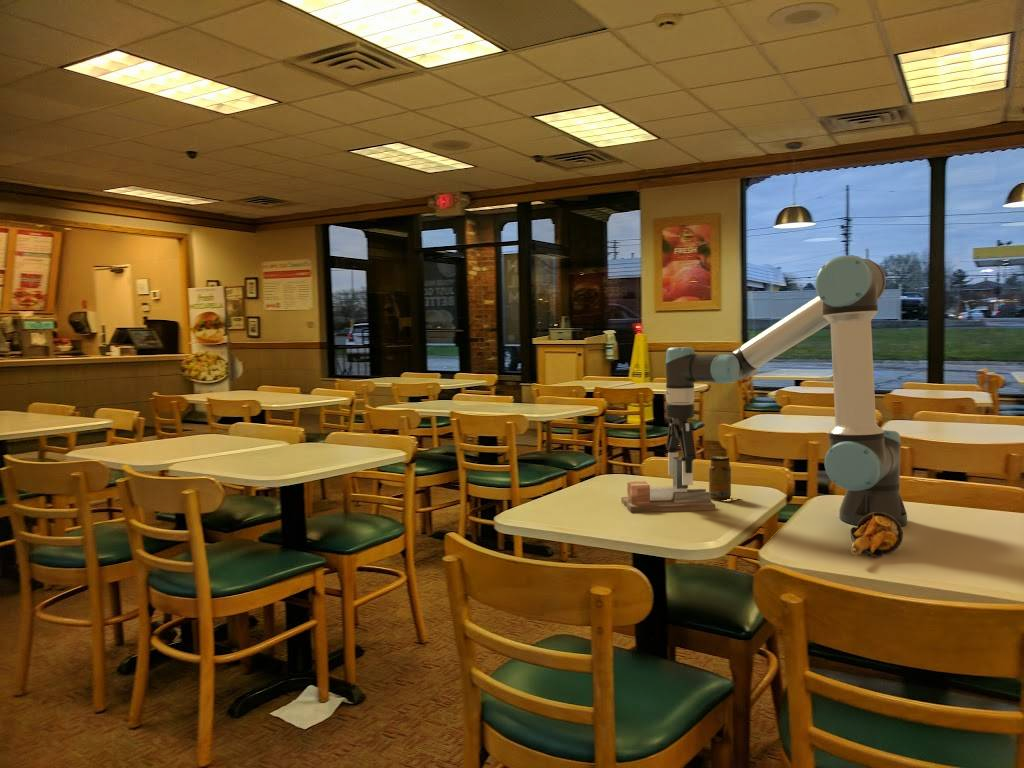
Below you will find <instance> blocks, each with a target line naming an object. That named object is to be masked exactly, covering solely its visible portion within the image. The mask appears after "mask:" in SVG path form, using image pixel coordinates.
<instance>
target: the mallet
mask: <svg viewBox="0 0 1024 768" xmlns="http://www.w3.org/2000/svg"><path fill="white" fill-rule="evenodd" d="M681 458H683V456H678V457H673V475H672V485H670V486H667V485H666V486H665V485H664V486H663V485H662V486H650V499H671V498H674V493H687V489H689V485H682V461H681Z"/></svg>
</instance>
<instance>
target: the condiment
mask: <svg viewBox="0 0 1024 768" xmlns="http://www.w3.org/2000/svg"><path fill="white" fill-rule="evenodd" d="M730 464H731V462H730V457H728V456H723V455H714V456H711V457H710V465H709V468H708V492H711V500H712V501H718V502H721V501H720V500H727V499H730V497H732V493H731V492H732V468H731V465H730ZM733 497H734V498H738V497H736V496H733ZM724 503H731V502H730V501H729V502H728V501H724Z"/></svg>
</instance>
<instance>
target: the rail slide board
mask: <svg viewBox="0 0 1024 768" xmlns="http://www.w3.org/2000/svg"><path fill="white" fill-rule="evenodd" d="M626 485H627V486H626V487H627V488H626V489H627V490H626V491H627V493H626V496H622V497H621V503H622V505H623V504H624V505H625V506H626V507H627V508H626V507H625V506H624V505H623V506H624V507H625V508H626V509H627V510H628V511H629V512H630V513H652V512H651V511H656V513H658V512H657V511H662V512H688V511H687V510H691V511H715V510H716V504H715V503H714V502H712V501H711V492H709V491H707V489H706V488H692V489H689V488H687V493H674V498H671V499H650V487H651V485H650V484H649V483H648V482H647V481H645V480H636V481H635V480H634V481H631V480H629V481H626ZM691 511H690V512H691Z"/></svg>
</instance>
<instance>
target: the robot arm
mask: <svg viewBox="0 0 1024 768" xmlns="http://www.w3.org/2000/svg"><path fill="white" fill-rule="evenodd" d="M886 280H887V277H886V275H885V271H884V269H882V267H881V266H880V265H879V264H877V262H875V261H872V260H870V259H867V258H862V257H860V256H857V255H854V254H851V255H838V256H836V257H833V258H831V259H829V260H827V262H825V263H824V264H823V265H822V266H821V267H820V269H819V270H818V272H817V273H816V276H815V279H814V287H815V291H816V295H817V296H815V297H814V298H812V299H811V300H809V301H808V302H806V303H805V304H803V305H802V306H800V307H798V308H797V309H795V310H793V312H791V313H790V314H788V315H786V316H785V317H783V318H782V319H779V320H778V321H777V322H775V323H774V324H772V325H771V326H769V327H767V328H766V329H765V330H763V331H761V332H760V333H758V334H757V335H756V336H754V337H752V338H750V339H749V340H747V342H745V343H743V344H742V345H741V346H739V347H737V348H736V349H734V350H733V351H731V352H729V353H718V354H699V353H698V354H697V353H695V348H693V347H691V346H687V347H686V346H683V347H681V346H680V347H678V346H677V347H676V346H675V347H674V346H672V347H669V348H667V349H666V352H665V353H666V354H665V355H666V356H665V363H664V364H665V365H664V366H665V377H666V378H665V381H666V382H665V383H666V384H665V387H666V388H665V391H664V395H665V399H666V403H667V404H666V405H665V416H666V418H669V419H668V427H667V437H666V443H665V450H666V449H667V452H668V453H667V456H668V457H667V459H668V460H667V461H668V462H667V465H668V471H667V474H668V476H673V457H679V453H680V449H681V455H682V457H683V458H681V461H682V485H688V486H692V485H694V460H696V458H697V456H696V450H695V442H694V437H693V435H694V434H693V424H692V422H688V419H693V418H694V417H695V405H694V404H693V403H694V402H695V383H709V384H710V383H714V384H715V383H716V384H728V383H729V384H732V383H735V382H736V381H742V380H744V379H746V378H748V377H750V376H751V375H752V374H753V371H755V370H757V369H758V368H760V367H762V366H763V365H764V364H767V363H768V362H770V361H771V360H772V359H774V358H777V357H778V356H779V355H781V354H783V353H784V352H786V351H787V350H789V349H791V348H792V347H794V346H796V345H797V344H799V343H800V342H802V341H804V340H806V339H807V338H808V337H810V336H812V335H813V334H815V333H817V332H818V331H820V330H821V329H823V328H825V327H827V326H828V325H830V343H831V363H832V364H831V365H832V380H833V381H832V382H833V401H834V403H833V404H834V418H835V419H834V422H835V424H834V425H833V426H832V428H831V429H829V431H828V436H829V437H828V440H829V443H828V444H829V449H828V450H827V452H826V454H825V457H824V464H823V465H824V469H825V472H826V475H827V476H828V478H829V479H830V481H832V482H833V483H834V484H835V485H836V486H837V487H839V488H841V489H843V490H846V491H845V494H844V497H843V498H842V502H841V504H840V507H839V514H838V515H839V516H838V517H839V519H840V520H841V521H842V522H845V523H847V524H850V525H854V526H857V525H858V523H859V522H860V520H861V519H862V518H863V517H864V516H866V515H867V514H869V513H872V512H884V513H887V514H889V515H891V516H893V517H894V518H895V519H896V520H897V521H898V522H899V523H900V525H901V527H904V526H907V525H908V514H907V510H906V507H905V505H904V502H903V498H902V496H901V491H900V483H901V482H900V479H901V478H900V477H901V475H900V474H901V472H900V471H901V446H902V443H901V442H902V441H901V435H900V434H899V432H898V431H895V430H888V429H887V430H885V429H883V428H881V427H880V426H879V425H878V423H877V416H876V415H877V413H876V397H875V378H874V375H875V373H874V358H873V357H874V356H873V335H872V320H873V318H874V317H875V316H876V315H877V314H878V313H879V309H878V308H879V307H878V300H879V299H880V298H881V296H882V295H883V294H884V291H885V289H886V285H887V283H886V282H887V281H886ZM679 445H680V448H679Z"/></svg>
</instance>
